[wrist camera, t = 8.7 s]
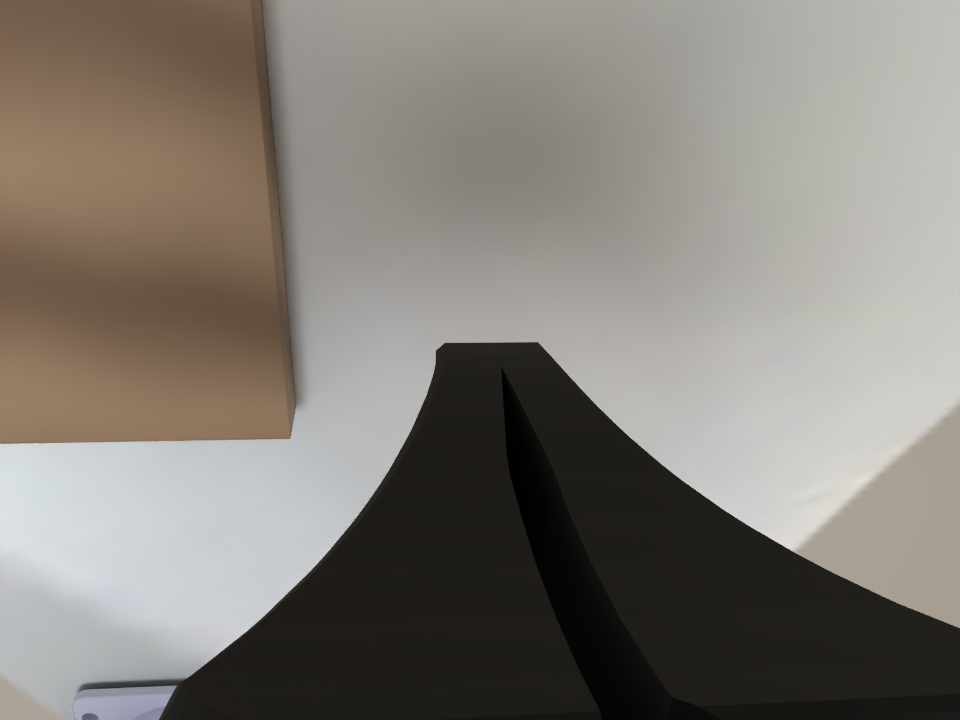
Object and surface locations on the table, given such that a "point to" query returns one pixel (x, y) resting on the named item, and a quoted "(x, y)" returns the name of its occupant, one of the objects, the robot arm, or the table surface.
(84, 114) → the deck
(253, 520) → the table surface
